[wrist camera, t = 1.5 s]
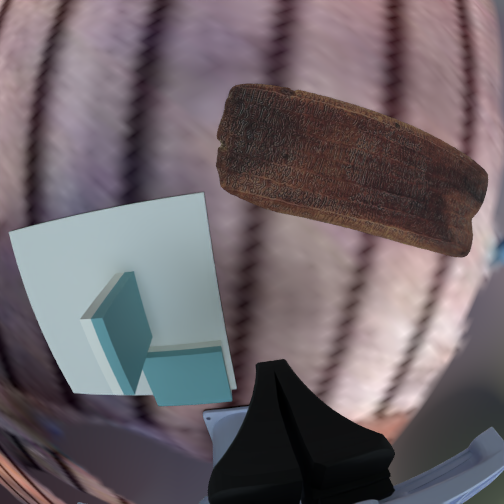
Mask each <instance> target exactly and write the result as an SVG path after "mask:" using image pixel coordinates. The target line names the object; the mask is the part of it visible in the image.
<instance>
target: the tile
mask: <svg viewBox="0 0 504 504" xmlns="http://www.w3.org/2000/svg"><path fill="white" fill-rule="evenodd" d="M80 322H81V325H82V327H83V330H84V332H85V335H86V337H87V339H88V342H89V344H90V346H91V349H92V351H93V353H94V355H95V358H96V360H97V362H98V364H99V366H100V368H101V370H102V372H103V374H104V377H105V379H106V381H107V382H108V384H109V386H110V388H111V390H112V392H113V394H114V395H135V393H136V389H137V386H138V383H139V379H140V376H141V373H142V369H143V366H144V363H145V359H146V356H147V353H148V350H149V347H150V344H151V341H152V338H153V336H152V333H151V330H150V327H149V324H148V320H147V317H146V314H145V310H144V307H143V303H142V300H141V296H140V293H139V289H138V285H137V282H136V278H135V274H134V271H132V272H124V273H116V274H115V275H114V276H113V277H112V278H111V280H110V281H109V282H108V283H107V285H106V286H105V287H104V288H103V290H102V291H101V292H100V293H99V295H98V296H97V297H96V298H95V300H94V301H93V302H92V304H91V305H90V306H89V308H88V309H87V310H86V312H85V313H84V314H83V316H82V317H81V318H80Z"/></svg>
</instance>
